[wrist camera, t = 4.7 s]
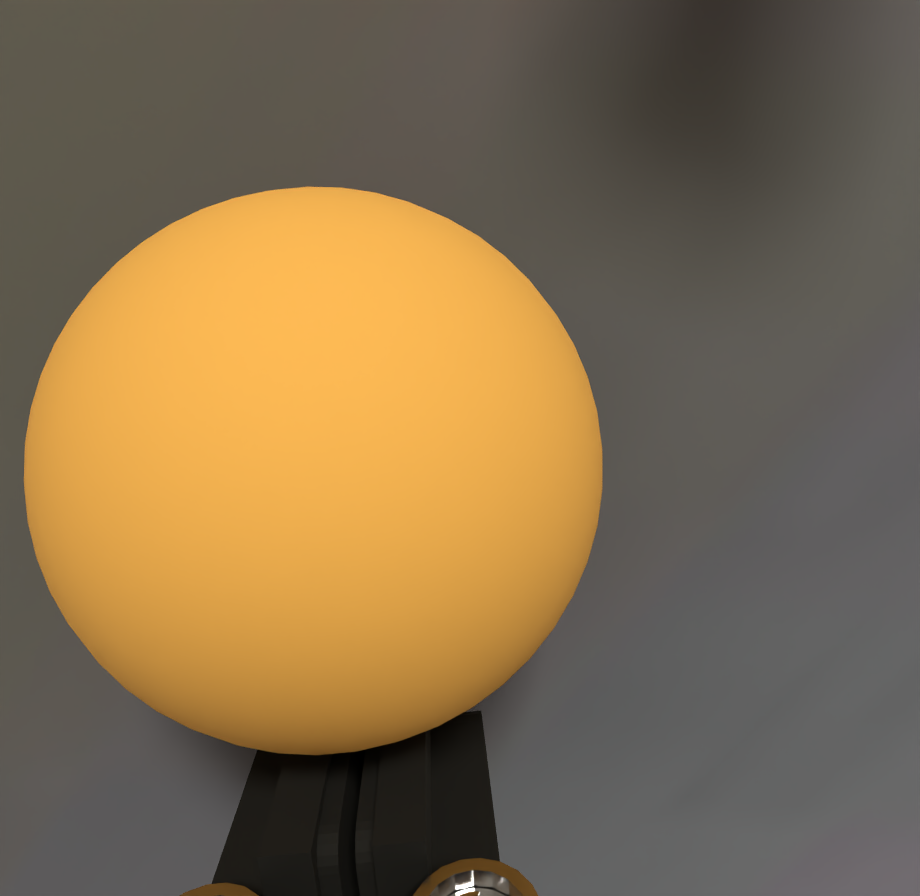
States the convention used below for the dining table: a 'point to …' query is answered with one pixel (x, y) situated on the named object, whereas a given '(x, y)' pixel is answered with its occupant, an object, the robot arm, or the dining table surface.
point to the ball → (313, 470)
